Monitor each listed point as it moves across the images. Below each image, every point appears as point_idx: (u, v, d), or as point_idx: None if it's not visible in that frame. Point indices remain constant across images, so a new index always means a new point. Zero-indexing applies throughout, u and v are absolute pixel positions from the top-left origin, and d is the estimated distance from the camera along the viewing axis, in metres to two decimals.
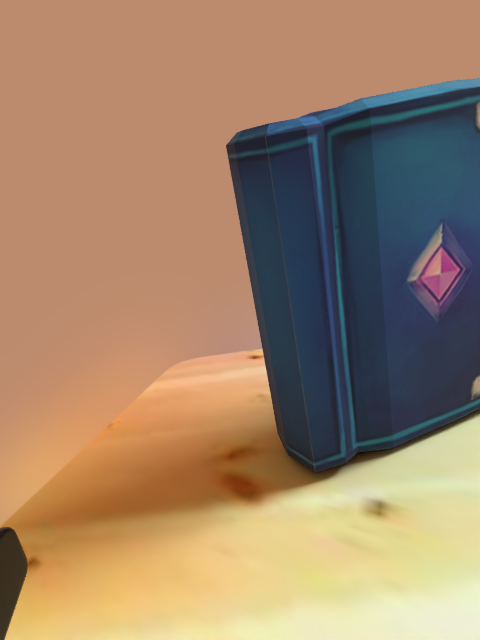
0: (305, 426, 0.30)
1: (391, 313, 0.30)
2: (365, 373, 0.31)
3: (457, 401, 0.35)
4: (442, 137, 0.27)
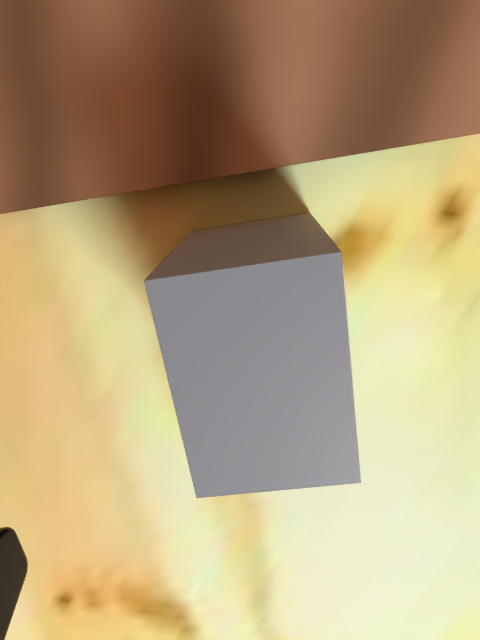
0: None
1: None
2: None
3: None
4: None
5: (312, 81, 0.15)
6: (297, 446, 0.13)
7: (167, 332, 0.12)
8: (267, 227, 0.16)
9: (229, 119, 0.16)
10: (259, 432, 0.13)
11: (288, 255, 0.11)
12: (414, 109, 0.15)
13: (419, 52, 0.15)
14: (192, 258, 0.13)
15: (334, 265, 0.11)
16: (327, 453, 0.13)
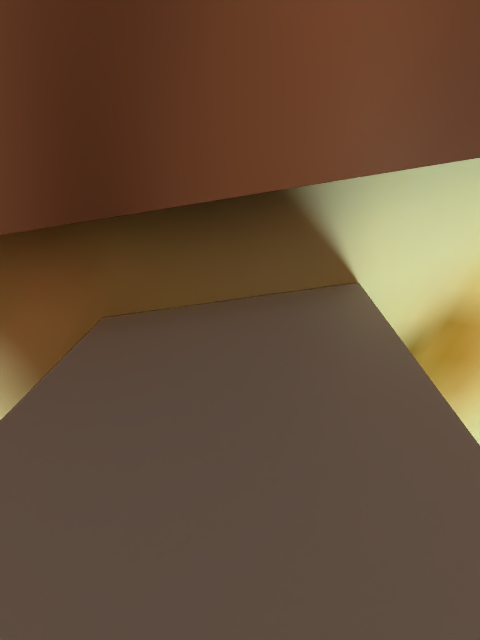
0: None
1: None
2: None
3: None
4: None
5: None
6: None
7: None
8: (264, 343, 0.06)
9: (168, 58, 0.06)
10: None
11: None
12: None
13: None
14: None
15: None
16: None
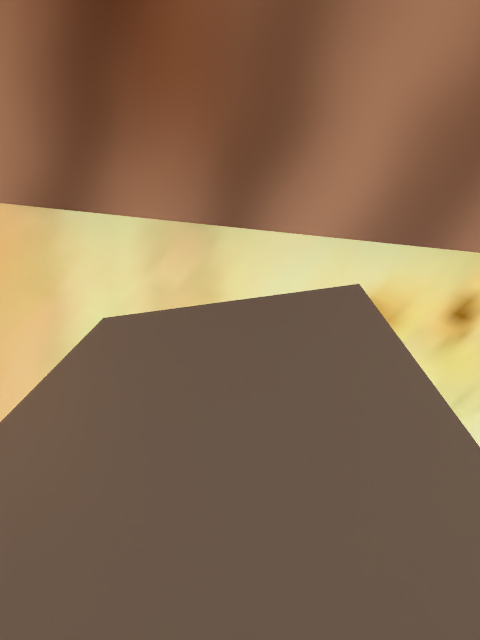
0: None
1: None
2: None
3: None
4: None
5: (371, 165, 0.15)
6: None
7: None
8: (265, 345, 0.06)
9: (281, 177, 0.15)
10: None
11: None
12: (459, 218, 0.16)
13: (479, 167, 0.15)
14: None
15: None
16: None
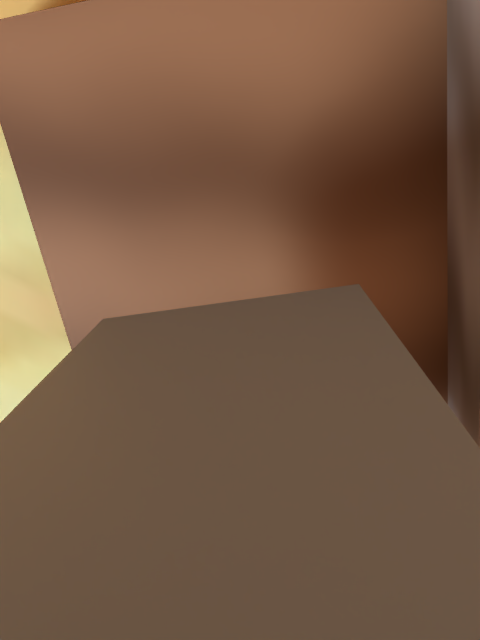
0: None
1: None
2: None
3: None
4: None
5: None
6: None
7: None
8: (264, 345, 0.06)
9: None
10: None
11: None
12: None
13: None
14: None
15: None
16: None
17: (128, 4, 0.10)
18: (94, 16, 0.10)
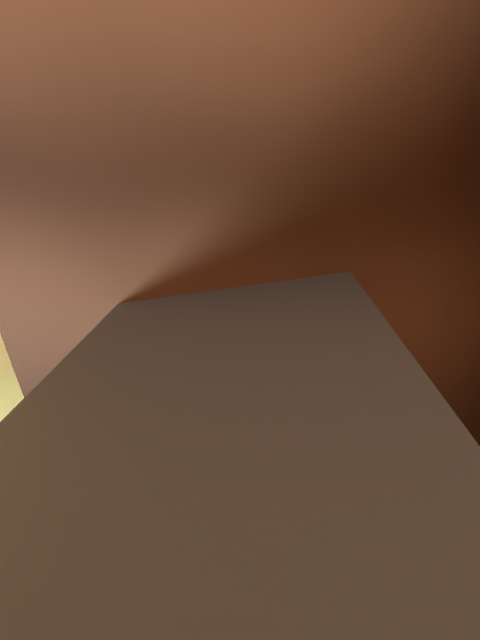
0: None
1: None
2: None
3: None
4: None
5: None
6: None
7: None
8: (265, 321, 0.07)
9: None
10: None
11: None
12: None
13: None
14: (14, 498, 0.04)
15: None
16: None
17: None
18: None
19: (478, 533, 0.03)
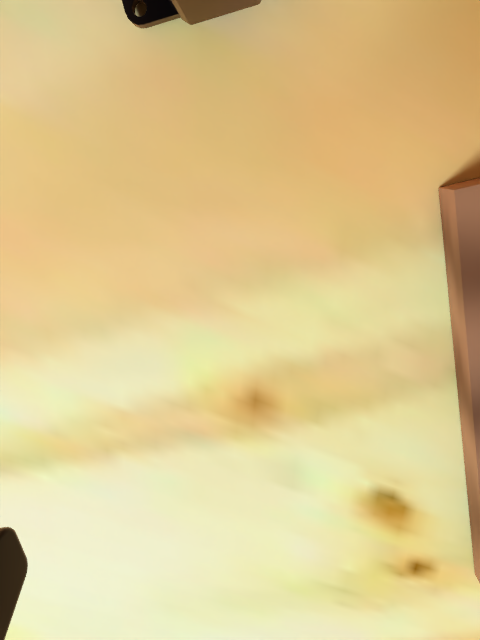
0: None
1: None
2: None
3: None
4: None
5: None
6: None
7: None
8: None
9: None
10: None
11: None
12: None
13: None
14: None
15: None
16: None
17: None
18: None
19: None
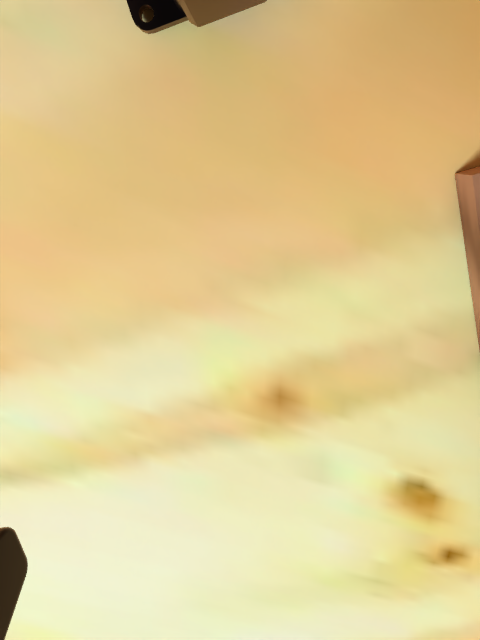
0: None
1: None
2: None
3: None
4: None
5: None
6: None
7: None
8: None
9: None
10: None
11: None
12: None
13: None
14: None
15: None
16: None
17: None
18: None
19: None
